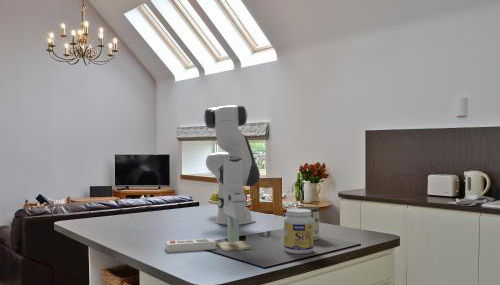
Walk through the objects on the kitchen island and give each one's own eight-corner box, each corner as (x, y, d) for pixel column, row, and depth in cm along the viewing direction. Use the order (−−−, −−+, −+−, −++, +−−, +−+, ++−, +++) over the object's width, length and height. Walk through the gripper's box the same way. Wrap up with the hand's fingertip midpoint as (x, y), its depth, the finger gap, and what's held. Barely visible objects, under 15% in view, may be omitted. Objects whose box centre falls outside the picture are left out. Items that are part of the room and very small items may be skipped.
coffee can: (299, 234, 223) (300, 205, 223) (320, 236, 220) (321, 207, 220) (294, 239, 213) (295, 208, 213) (316, 240, 210) (317, 209, 210)
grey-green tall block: (236, 239, 199) (236, 212, 199) (238, 241, 195) (239, 213, 195) (227, 239, 198) (227, 212, 198) (229, 241, 194) (230, 214, 194)
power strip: (211, 245, 199) (211, 237, 199) (215, 248, 192) (215, 240, 192) (165, 248, 193) (165, 239, 193) (167, 252, 186) (167, 243, 186)
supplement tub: (292, 255, 182) (292, 213, 182) (278, 249, 193) (278, 208, 193) (319, 253, 187) (319, 211, 187) (303, 246, 198) (304, 207, 198)
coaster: (242, 243, 204) (242, 240, 204) (250, 249, 193) (250, 246, 193) (216, 244, 200) (216, 242, 200) (223, 251, 189) (223, 248, 189)
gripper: (220, 192, 205) (220, 223, 205) (232, 197, 186) (232, 232, 186) (233, 192, 207) (233, 222, 207) (247, 197, 188) (247, 231, 188)
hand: (233, 227), depth 196 cm, fingers closed on grey-green tall block, 4 cm apart
